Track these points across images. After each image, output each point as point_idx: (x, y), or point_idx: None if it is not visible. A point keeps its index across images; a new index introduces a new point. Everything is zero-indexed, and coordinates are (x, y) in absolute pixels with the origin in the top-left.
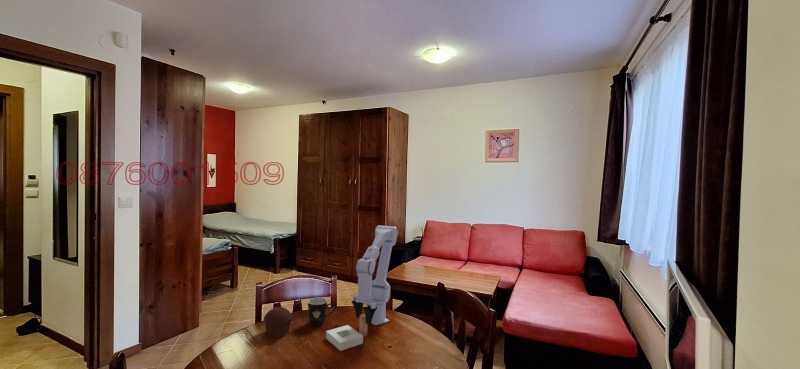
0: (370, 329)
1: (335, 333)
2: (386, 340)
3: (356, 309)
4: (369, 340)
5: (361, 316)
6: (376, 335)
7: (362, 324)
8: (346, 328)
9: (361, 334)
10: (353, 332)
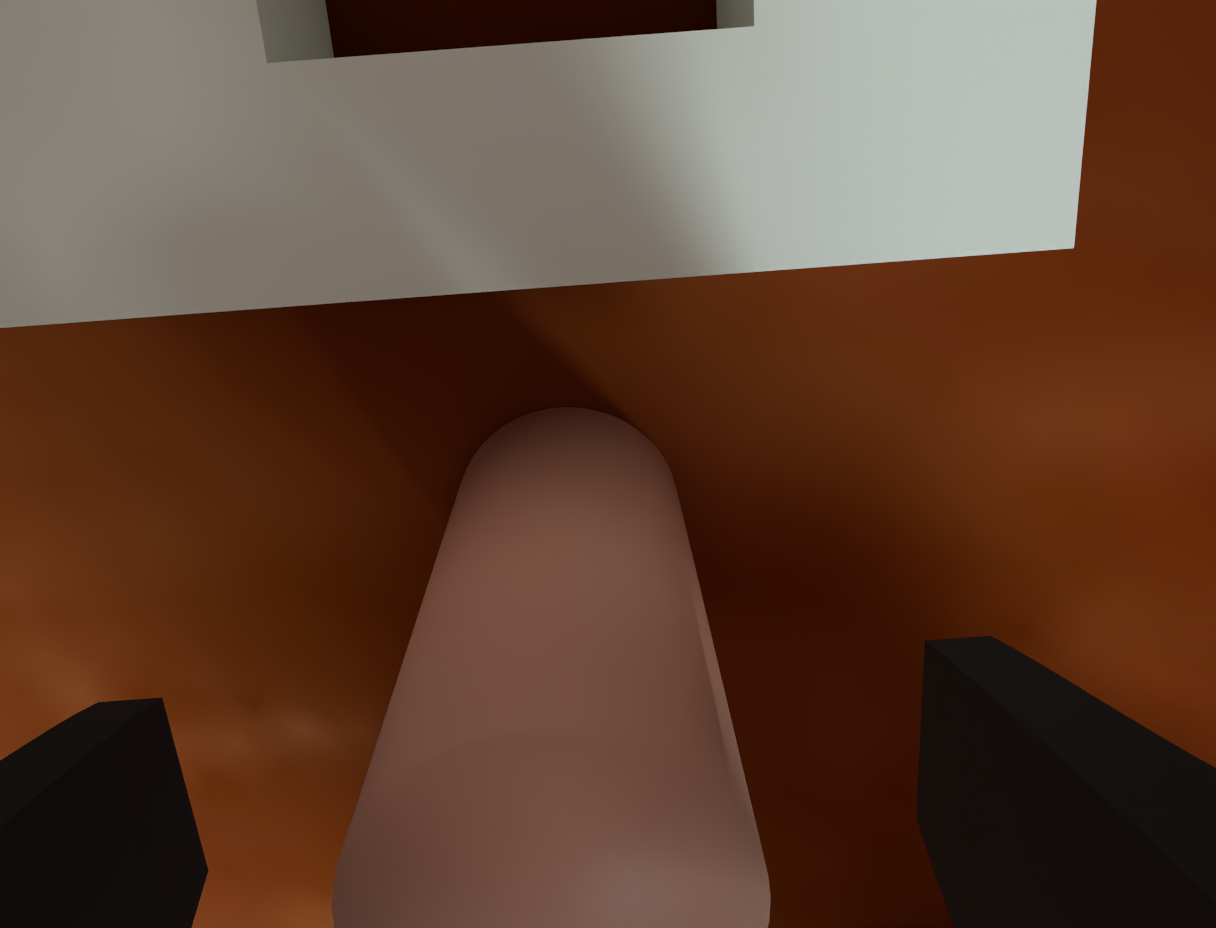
0: None
1: None
2: None
3: (1174, 924)
4: (207, 510)
5: (546, 797)
6: None
7: (439, 605)
8: (838, 59)
9: (496, 450)
10: (393, 147)
